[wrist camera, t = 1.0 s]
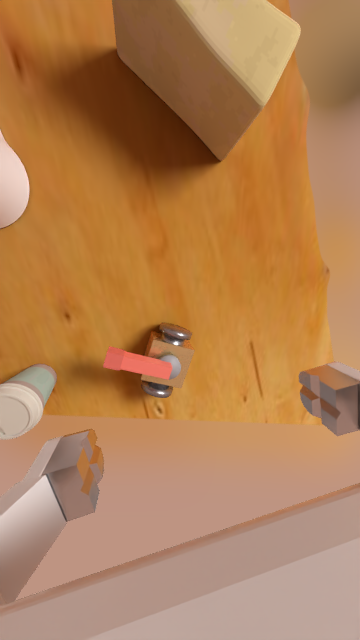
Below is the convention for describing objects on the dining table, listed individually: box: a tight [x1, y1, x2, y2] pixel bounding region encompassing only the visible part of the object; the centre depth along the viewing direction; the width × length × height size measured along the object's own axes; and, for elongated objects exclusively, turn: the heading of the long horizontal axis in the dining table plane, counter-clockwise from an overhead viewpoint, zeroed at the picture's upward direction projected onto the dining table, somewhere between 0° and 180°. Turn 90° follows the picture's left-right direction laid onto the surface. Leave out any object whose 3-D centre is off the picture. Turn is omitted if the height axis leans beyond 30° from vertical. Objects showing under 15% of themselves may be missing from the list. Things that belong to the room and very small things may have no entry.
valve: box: [141, 323, 195, 398], centre depth 43 cm, size 8×13×6 cm, turn 163°
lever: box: [103, 346, 181, 380], centre depth 37 cm, size 13×4×4 cm, turn 73°
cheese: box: [112, 0, 300, 161], centre depth 29 cm, size 22×10×15 cm, turn 64°
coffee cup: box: [0, 364, 57, 439], centre depth 37 cm, size 8×8×12 cm
